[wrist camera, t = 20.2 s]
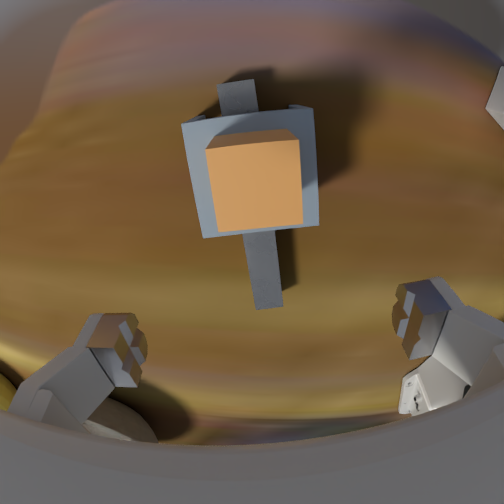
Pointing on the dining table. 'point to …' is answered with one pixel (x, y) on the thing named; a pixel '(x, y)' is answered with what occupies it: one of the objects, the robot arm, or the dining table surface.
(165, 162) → the dining table surface
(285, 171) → the block
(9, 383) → the vase
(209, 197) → the pale blue storage bin
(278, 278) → the rod
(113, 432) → the bowl
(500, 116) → the milk carton
